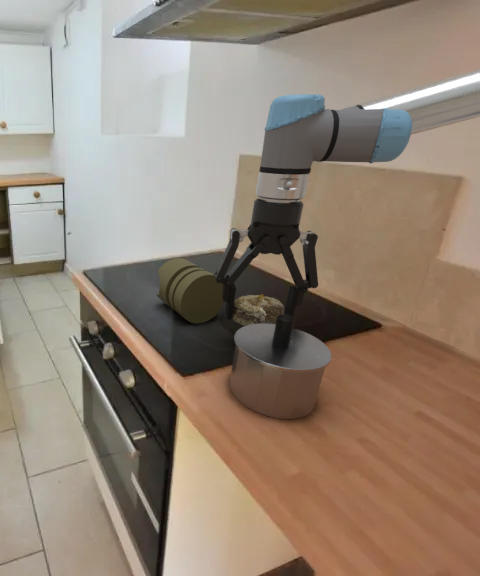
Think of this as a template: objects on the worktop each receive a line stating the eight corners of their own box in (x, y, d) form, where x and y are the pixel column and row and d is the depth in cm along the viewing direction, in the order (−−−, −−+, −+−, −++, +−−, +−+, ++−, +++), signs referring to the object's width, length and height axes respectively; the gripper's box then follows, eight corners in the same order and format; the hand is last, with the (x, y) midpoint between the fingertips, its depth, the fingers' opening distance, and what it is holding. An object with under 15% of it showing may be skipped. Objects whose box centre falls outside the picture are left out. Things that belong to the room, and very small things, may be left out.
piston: (192, 298, 95) (196, 255, 91) (222, 319, 85) (229, 271, 81) (152, 305, 92) (155, 260, 88) (178, 327, 81) (183, 278, 77)
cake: (219, 321, 72) (220, 294, 70) (245, 307, 78) (247, 282, 77) (270, 337, 65) (273, 307, 63) (295, 320, 71) (299, 293, 69)
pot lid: (311, 332, 63) (318, 302, 61) (345, 380, 51) (356, 344, 49) (227, 326, 65) (231, 296, 63) (241, 371, 53) (247, 336, 51)
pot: (299, 373, 66) (309, 330, 62) (326, 423, 54) (341, 374, 51) (225, 367, 68) (231, 324, 64) (236, 414, 56) (245, 365, 53)
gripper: (211, 200, 61) (197, 323, 70) (364, 204, 58) (329, 333, 66) (206, 194, 68) (194, 306, 77) (343, 197, 65) (314, 314, 73)
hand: (257, 318), depth 71 cm, fingers closed on cake, 10 cm apart
